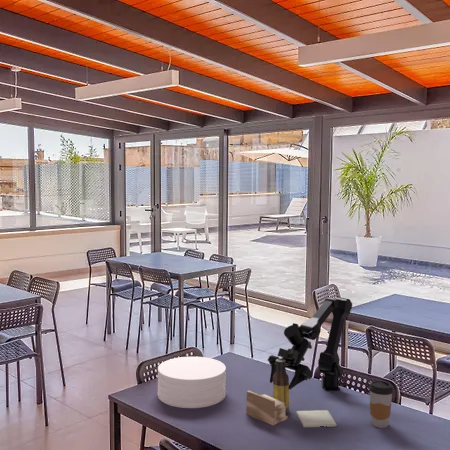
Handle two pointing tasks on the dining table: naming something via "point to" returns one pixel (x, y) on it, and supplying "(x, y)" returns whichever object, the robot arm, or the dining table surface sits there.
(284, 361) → the sauce bottle
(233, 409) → the dining table surface
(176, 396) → the plate stack
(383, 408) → the coffee cup
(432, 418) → the dining table surface
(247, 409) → the offcut rack
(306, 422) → the cream tile board
